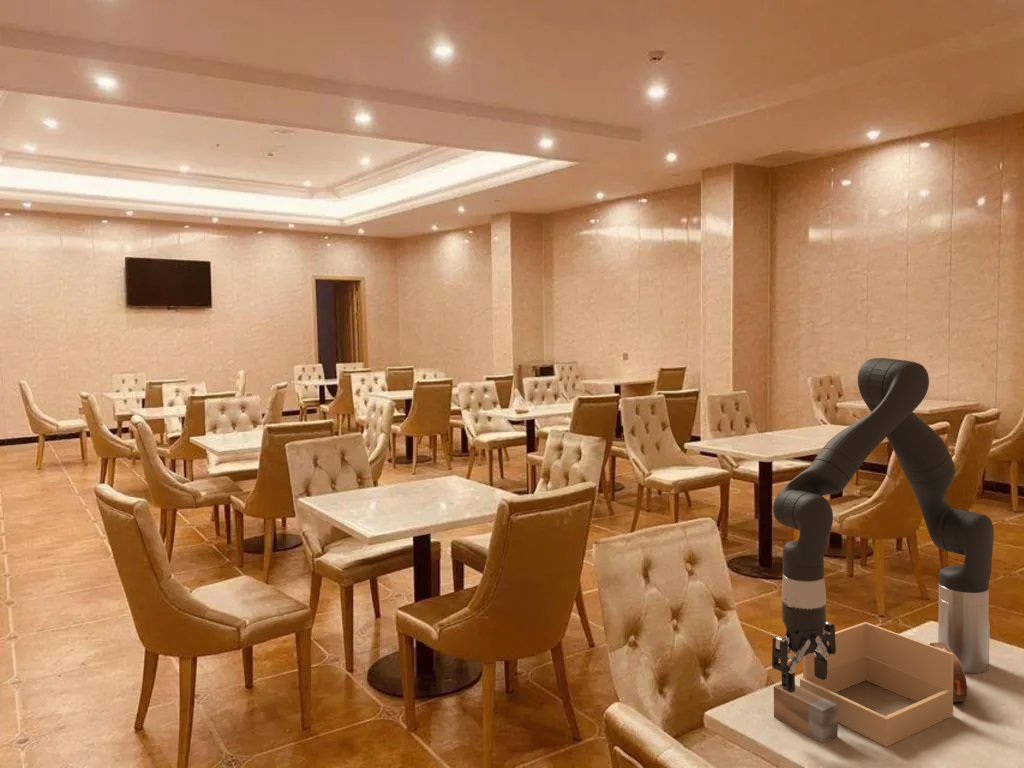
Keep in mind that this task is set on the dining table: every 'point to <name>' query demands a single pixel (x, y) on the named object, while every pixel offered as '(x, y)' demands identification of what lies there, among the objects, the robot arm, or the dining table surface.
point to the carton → (885, 681)
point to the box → (806, 713)
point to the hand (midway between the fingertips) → (804, 684)
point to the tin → (955, 675)
